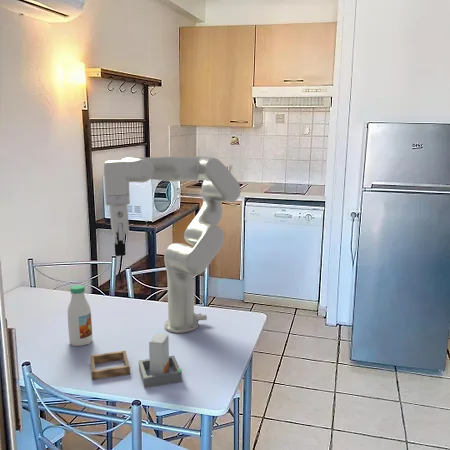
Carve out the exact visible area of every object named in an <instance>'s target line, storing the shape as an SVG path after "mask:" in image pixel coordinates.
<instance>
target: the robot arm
mask: <svg viewBox="0 0 450 450" xmlns="http://www.w3.org/2000/svg"><path fill="white" fill-rule="evenodd" d="M103 164H104V165H103V174H104V195H105V196H104V197H105V198H104V199H105V205H106V206H109V214H110V215H109V218H110V227H111V231H112V235H113V236H114V254H115V256H116V257H120V256H126V243H125V236H130V225H129V211H128V205H130V204H131V200H130V199H131V197H130V183H143V184H144V183H147V182H149V181H150V180H157V181H161V182H162V181H163V182H186V181H187V182H188V181H189V182H190V181H203V182H202V184H201V194H202V195H201V196H202V205H201V208H200V210H199V211H198V213H196V215H195V217H194V218H193V219H192V221H191V222H190V223H189V224H188V225H187V226H186V227H187V228H186V229H185V231H184V234H183V237H184V240H185V242H187V244H185V243H180V242H174V243H171V244H170V245H169V246H167V248H166V249H165V250H164V255H163V257H164V258H163V260H164V266H165V270H166V277H167V278H166V279H167V311H168V319H167V320H166V321H165V322H164V325H163V326H164V329H165V330H167V331H168V332H171V333H174V334H175V333H176V334H177V333H178V334H182V333H183V334H185V333H189V332H190V333H191V332H193V331H194V330H197V329H198V327H199V322H200V321H206V320H208V317H207V316H208V315H207V314H202V313H201V312H200V313H196V312H195V290H194V289H195V286H194V285H195V282H194V276H199V275H201V274H202V273H204V272H205V271H206V269H207V268H209V266H210V264H211V263H212V261H213V259H215V257H216V256H217V254H218V253H219V251H220V250H221V248H222V247H223V244H224V242H225V235H224V233H225V232H224V230H223V229H222V227H220V226H219V225H218V224H219V223H220V221H221V220H222V217H223V206H222V202H225V203H233V202H235V201H237V200H238V199H239V197H240V195H241V185H240V183H239V181H238V180H237V179H236V177H235V176H234V175H233V174H232V173H231V171H230V170H229V169H228V168H227V166H226V165H225V164H224V163H223V162H221V160H219V159H218V158H215V157H208V156H161V157H160V156H159V157H158V156H157V157H125V158H122V159H121V160H119V159H117V160H116V159H115V160H114V159H113V160H111V159H110V160H106V161H105V162H104V163H103ZM188 244H189V245H188Z"/></svg>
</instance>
